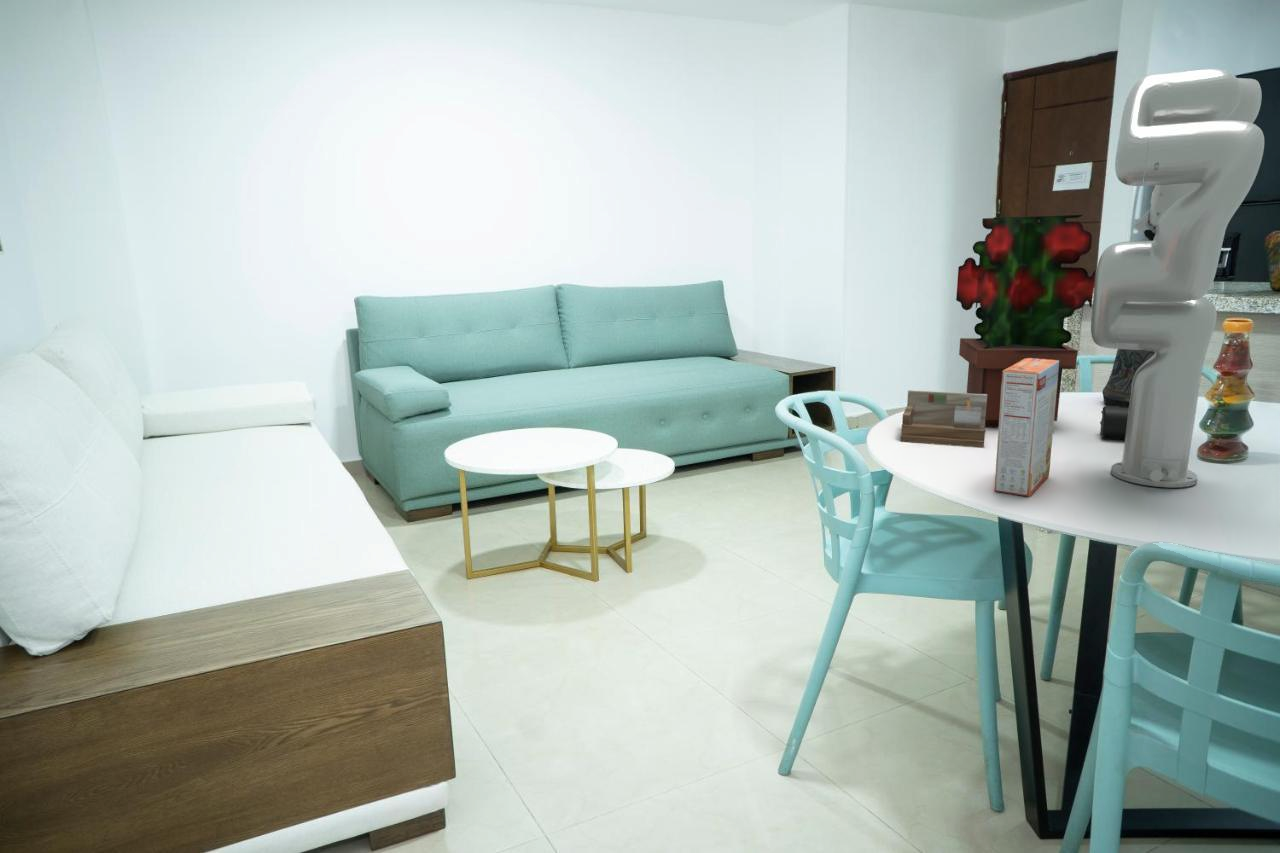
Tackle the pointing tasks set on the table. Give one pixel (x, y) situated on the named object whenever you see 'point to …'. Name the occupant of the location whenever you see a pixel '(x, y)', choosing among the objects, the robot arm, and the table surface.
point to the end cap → (1114, 422)
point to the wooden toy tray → (941, 418)
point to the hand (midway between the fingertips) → (1173, 263)
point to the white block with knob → (967, 417)
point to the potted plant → (1022, 299)
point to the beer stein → (1123, 376)
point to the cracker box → (1026, 425)
